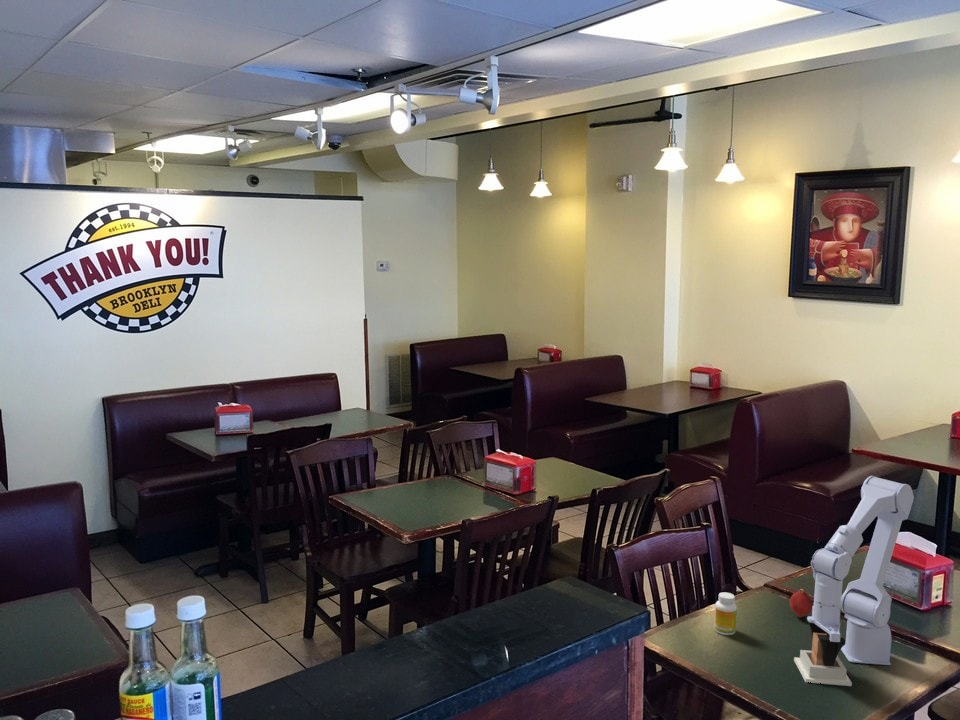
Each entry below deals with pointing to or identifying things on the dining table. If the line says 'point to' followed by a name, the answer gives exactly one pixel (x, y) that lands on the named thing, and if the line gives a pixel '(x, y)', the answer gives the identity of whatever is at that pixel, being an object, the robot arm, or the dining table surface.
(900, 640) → the dining table surface
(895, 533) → the robot arm
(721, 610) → the supplement bottle
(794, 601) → the onion
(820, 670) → the socket
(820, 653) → the peg
